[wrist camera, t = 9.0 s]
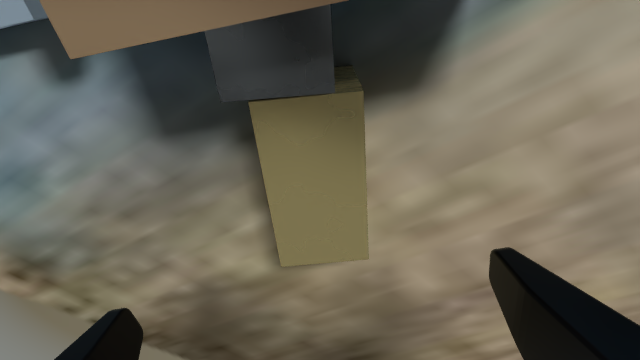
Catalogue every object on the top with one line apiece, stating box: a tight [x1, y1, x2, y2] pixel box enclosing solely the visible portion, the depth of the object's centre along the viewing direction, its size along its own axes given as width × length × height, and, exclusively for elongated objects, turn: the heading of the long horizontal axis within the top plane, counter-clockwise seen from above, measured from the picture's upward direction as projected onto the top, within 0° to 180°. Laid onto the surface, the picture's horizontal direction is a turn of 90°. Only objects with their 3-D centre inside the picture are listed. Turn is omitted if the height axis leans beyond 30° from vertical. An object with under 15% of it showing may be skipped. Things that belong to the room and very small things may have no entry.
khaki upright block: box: [248, 65, 369, 267], centre depth 14 cm, size 7×4×4 cm, turn 5°
